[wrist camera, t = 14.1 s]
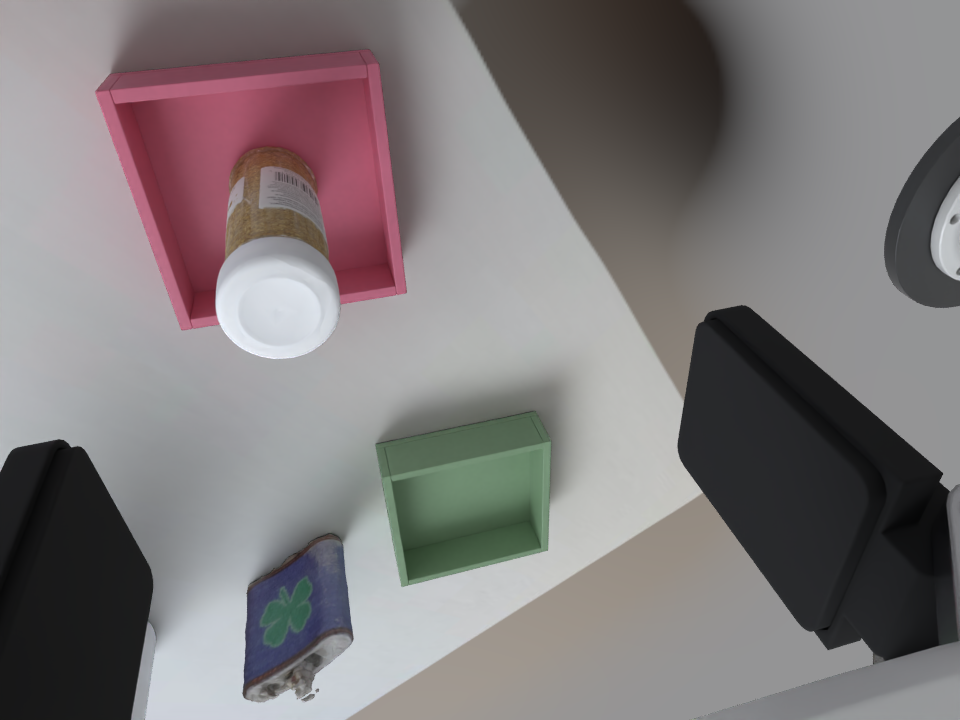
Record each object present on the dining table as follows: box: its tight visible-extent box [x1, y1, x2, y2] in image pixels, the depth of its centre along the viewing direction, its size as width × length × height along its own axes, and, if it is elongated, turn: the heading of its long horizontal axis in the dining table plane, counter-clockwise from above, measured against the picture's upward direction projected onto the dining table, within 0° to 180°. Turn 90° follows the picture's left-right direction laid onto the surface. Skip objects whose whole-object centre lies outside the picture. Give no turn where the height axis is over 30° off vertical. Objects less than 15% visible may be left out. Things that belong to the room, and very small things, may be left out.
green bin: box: [375, 411, 551, 587], centre depth 51 cm, size 12×12×4 cm
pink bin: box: [95, 49, 407, 330], centre depth 34 cm, size 12×12×4 cm
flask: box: [243, 534, 353, 703], centre depth 49 cm, size 9×3×11 cm, turn 123°
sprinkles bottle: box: [216, 146, 341, 359], centre depth 30 cm, size 5×4×13 cm
